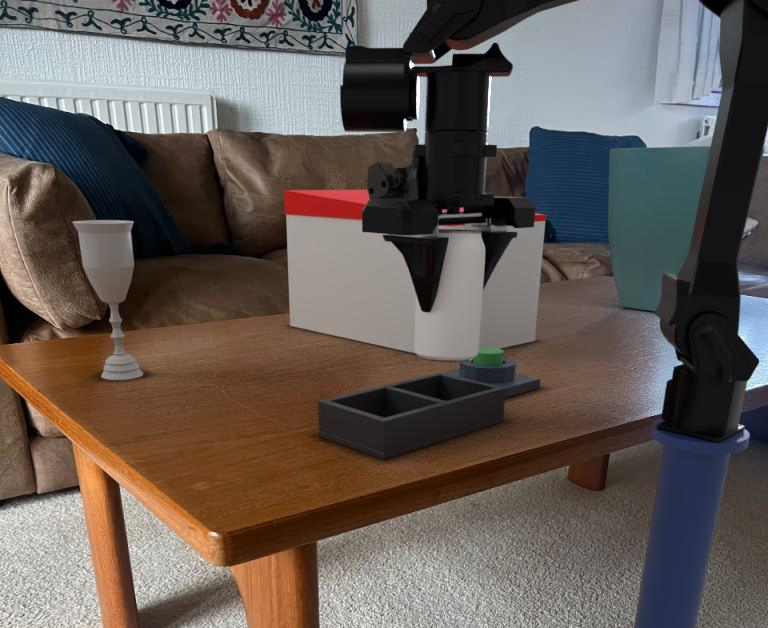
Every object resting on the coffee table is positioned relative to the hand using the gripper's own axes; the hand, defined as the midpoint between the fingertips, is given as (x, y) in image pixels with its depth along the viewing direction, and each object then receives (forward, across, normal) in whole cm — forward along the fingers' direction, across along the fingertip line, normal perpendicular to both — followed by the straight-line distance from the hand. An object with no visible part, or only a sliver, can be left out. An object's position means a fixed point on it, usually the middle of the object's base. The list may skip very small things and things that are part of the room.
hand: (449, 308), depth 77 cm
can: (+5, 0, 0) cm, 5 cm away
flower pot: (+12, -87, -21) cm, 91 cm away
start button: (+9, -14, -6) cm, 18 cm away
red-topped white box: (+12, -31, -36) cm, 49 cm away
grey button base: (+12, -14, -6) cm, 19 cm away
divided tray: (+11, +5, 0) cm, 12 cm away
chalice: (+12, +16, -40) cm, 44 cm away
